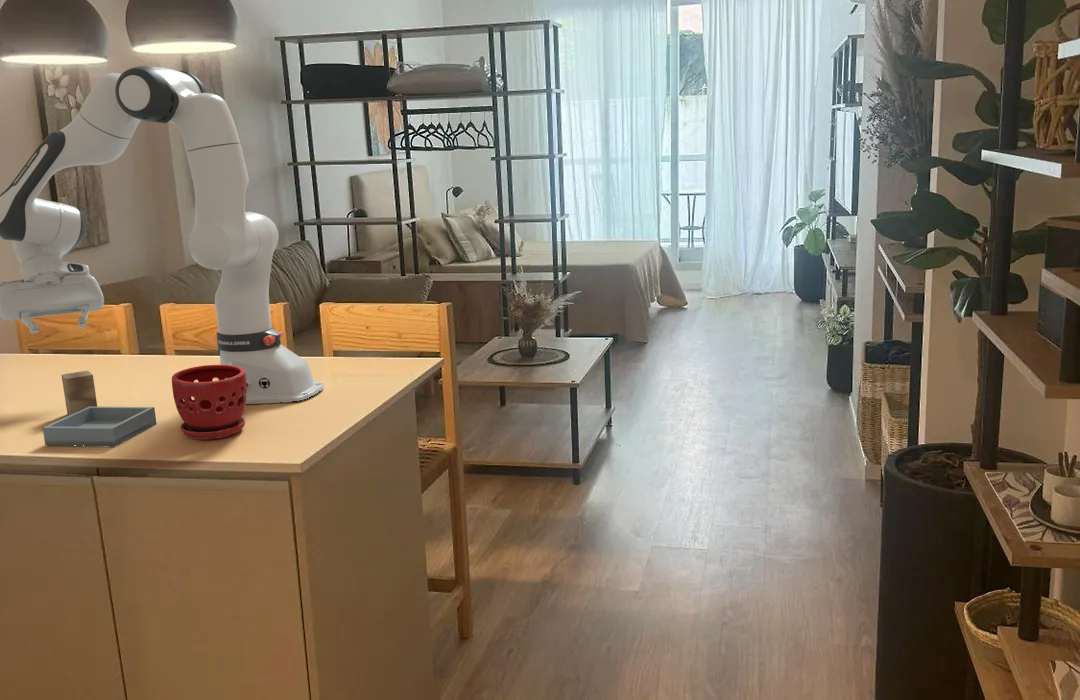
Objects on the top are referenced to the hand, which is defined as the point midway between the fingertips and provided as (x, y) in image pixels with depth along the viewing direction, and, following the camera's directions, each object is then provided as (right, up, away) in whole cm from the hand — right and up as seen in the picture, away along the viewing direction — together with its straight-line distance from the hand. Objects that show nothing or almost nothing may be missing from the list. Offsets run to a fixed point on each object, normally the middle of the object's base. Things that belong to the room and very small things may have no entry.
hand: (59, 328), depth 201 cm
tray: (+19, -21, -21) cm, 35 cm away
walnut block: (+8, -18, -6) cm, 21 cm away
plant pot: (+41, -21, -22) cm, 51 cm away
